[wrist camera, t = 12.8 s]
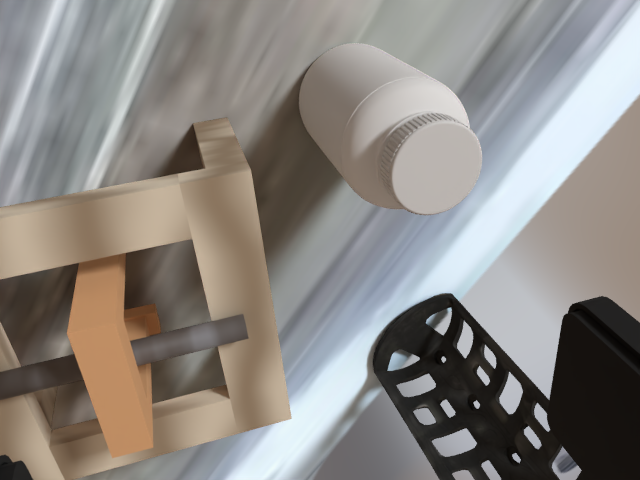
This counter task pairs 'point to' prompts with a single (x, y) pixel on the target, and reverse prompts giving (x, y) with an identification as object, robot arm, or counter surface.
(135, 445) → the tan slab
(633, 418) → the robot arm
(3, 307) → the counter surface
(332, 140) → the pill bottle
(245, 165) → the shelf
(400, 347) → the holder
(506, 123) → the counter surface
